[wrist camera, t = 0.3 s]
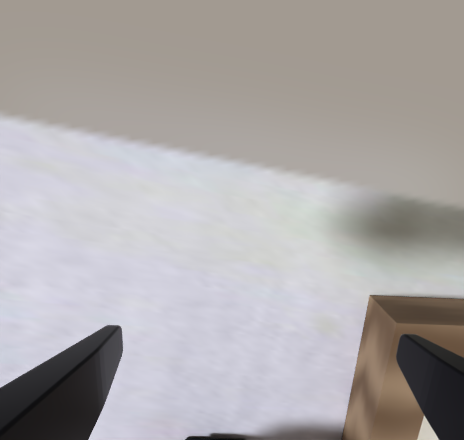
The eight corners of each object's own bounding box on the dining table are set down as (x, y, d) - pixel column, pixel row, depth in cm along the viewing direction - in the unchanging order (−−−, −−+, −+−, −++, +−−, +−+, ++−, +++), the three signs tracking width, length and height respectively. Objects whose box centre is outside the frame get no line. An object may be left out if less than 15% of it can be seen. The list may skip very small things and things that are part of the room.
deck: (470, 453, 29) (508, 500, 25) (339, 449, 28) (357, 496, 25) (524, 301, 24) (580, 330, 20) (369, 295, 24) (396, 323, 20)
